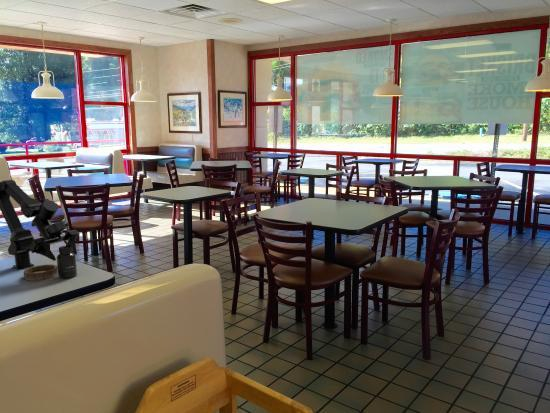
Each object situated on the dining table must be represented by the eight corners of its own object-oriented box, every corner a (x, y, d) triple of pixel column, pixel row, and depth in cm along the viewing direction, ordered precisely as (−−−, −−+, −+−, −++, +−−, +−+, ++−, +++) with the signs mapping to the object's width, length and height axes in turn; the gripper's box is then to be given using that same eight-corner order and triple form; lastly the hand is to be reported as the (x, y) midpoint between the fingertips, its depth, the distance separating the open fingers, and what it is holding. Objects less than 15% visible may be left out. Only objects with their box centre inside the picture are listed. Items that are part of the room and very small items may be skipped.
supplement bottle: (70, 279, 181) (67, 249, 179) (54, 278, 183) (51, 249, 181) (81, 274, 188) (78, 245, 186) (66, 273, 189) (62, 244, 187)
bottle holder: (19, 276, 187) (18, 270, 186) (49, 269, 196) (49, 262, 195) (32, 282, 179) (31, 275, 179) (63, 274, 188) (62, 267, 188)
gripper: (29, 218, 176) (51, 250, 172) (73, 210, 192) (93, 239, 188) (20, 237, 182) (41, 268, 178) (63, 227, 197) (83, 255, 193)
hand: (65, 257), depth 184 cm, fingers open, 9 cm apart
